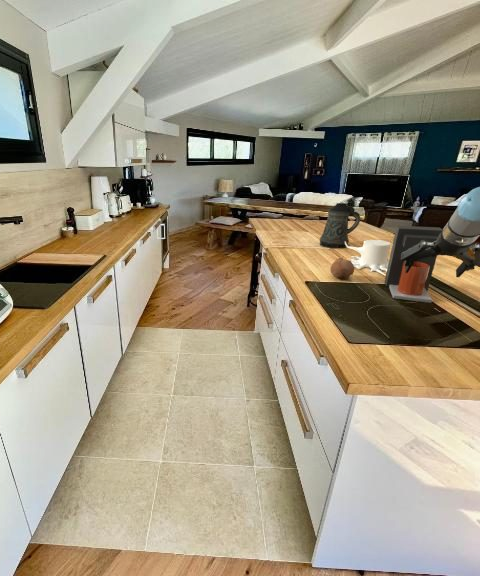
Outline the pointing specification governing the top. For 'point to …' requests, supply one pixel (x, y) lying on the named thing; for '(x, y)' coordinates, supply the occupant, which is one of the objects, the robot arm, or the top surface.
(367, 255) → the tree stump
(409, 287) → the terracotta cup
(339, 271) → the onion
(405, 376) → the top surface
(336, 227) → the beer stein
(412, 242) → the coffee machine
